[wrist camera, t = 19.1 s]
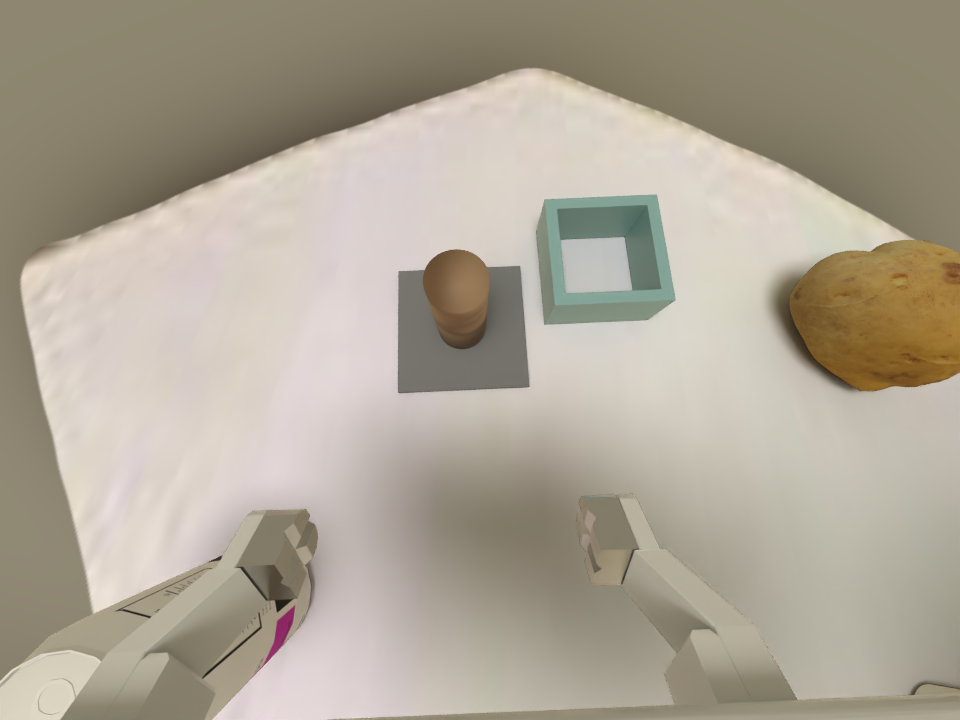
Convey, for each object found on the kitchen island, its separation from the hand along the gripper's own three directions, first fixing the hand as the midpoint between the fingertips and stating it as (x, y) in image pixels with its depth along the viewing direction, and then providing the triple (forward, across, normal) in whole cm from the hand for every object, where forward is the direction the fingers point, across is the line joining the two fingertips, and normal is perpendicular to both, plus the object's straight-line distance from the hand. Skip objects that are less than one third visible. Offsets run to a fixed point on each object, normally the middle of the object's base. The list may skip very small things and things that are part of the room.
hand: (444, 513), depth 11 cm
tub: (+27, -12, +3) cm, 30 cm away
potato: (+23, -34, +8) cm, 42 cm away
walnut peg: (+23, 0, +6) cm, 24 cm away
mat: (+24, 0, +6) cm, 25 cm away
